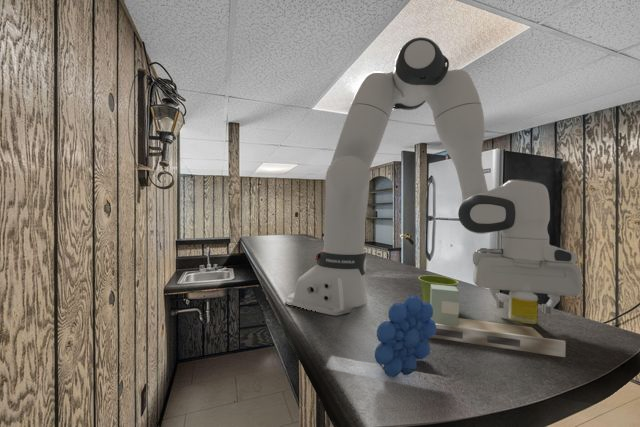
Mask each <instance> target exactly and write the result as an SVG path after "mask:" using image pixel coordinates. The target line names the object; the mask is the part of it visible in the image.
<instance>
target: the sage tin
mask: <svg viewBox="0 0 640 427" xmlns="http://www.w3.org/2000/svg"><path fill="white" fill-rule="evenodd" d="M459 294H460V293H459V290H458V288H457V286H456V287H455V286H444V285H434V284H431V286H430V304H431V306H432V308H433V316H432V317H431V319H432V320H433V321H434V322H435V323H436V324H444V325H451V326H458V318H459V315H460V302H459V298H460V296H459Z"/></svg>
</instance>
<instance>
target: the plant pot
mask: <svg viewBox="0 0 640 427" xmlns="http://www.w3.org/2000/svg"><path fill="white" fill-rule="evenodd" d="M418 280H419V284H420V286H421V294H422V302H428V303H430V286H431V284H434V285H444V286H455V287H456V288H457V286H458V285H459V283H460V282H459V281H458V280H456V279H454V278H451V277H447V276H443V275H442V276H441V275H433V274H432V275H430V274H429V275H427V274H425V275H420V276H418Z"/></svg>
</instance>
